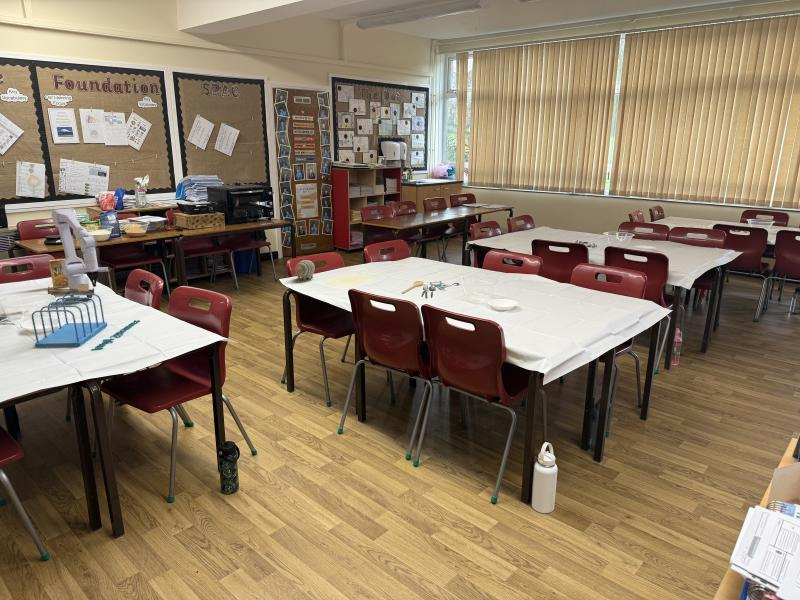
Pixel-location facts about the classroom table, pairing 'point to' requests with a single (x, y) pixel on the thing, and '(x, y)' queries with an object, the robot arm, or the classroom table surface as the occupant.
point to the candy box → (58, 274)
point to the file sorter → (69, 326)
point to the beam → (68, 291)
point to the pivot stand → (72, 299)
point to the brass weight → (83, 287)
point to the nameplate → (115, 336)
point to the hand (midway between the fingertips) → (94, 286)
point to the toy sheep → (305, 269)
